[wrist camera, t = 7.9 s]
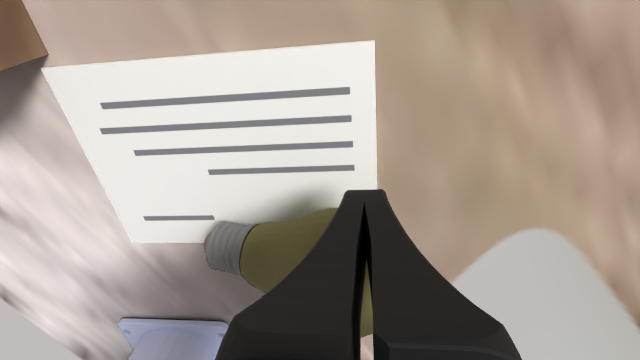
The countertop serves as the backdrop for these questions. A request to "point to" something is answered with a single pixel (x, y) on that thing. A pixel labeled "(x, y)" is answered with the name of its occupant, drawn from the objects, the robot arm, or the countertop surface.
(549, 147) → the countertop surface
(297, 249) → the light bulb
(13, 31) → the walnut block
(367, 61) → the letter
